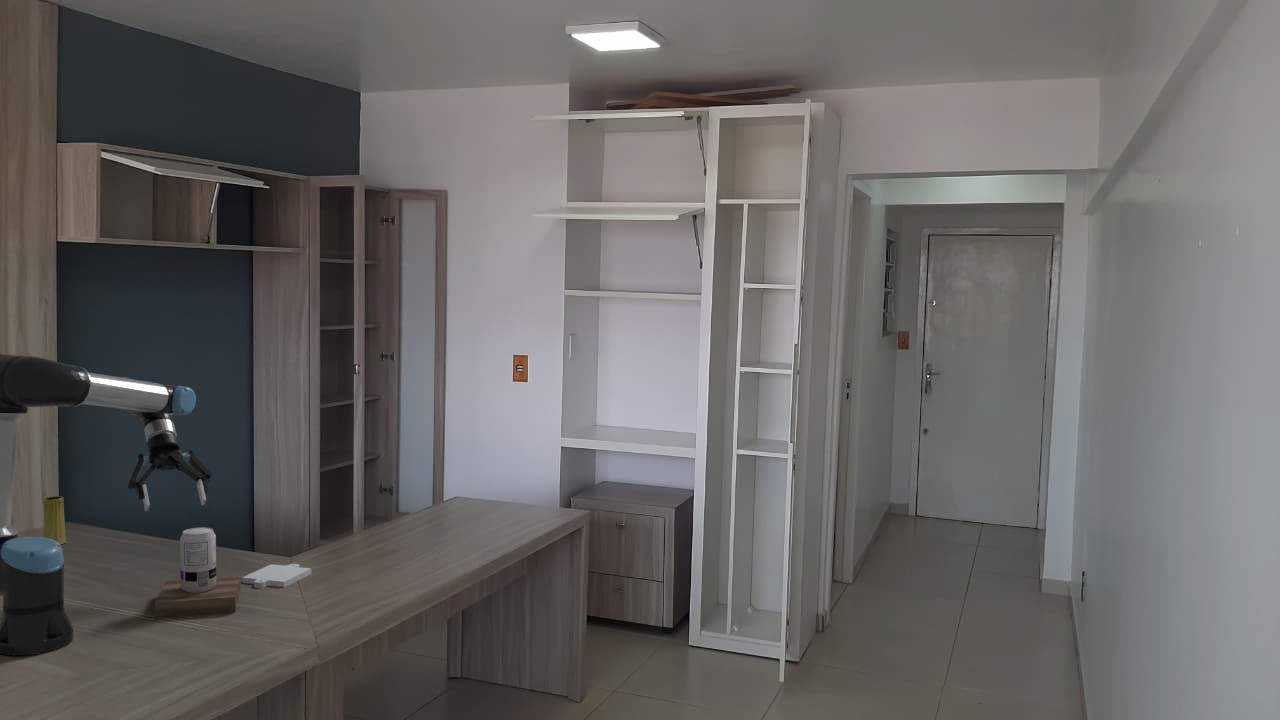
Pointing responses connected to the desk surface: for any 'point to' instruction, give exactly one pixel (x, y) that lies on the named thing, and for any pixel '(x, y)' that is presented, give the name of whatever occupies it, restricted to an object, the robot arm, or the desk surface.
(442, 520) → the desk surface
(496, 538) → the desk surface
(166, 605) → the walnut riser
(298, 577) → the mounting plate
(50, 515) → the vase
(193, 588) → the supplement can
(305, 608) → the desk surface
